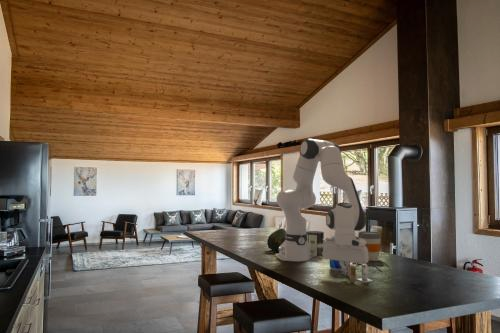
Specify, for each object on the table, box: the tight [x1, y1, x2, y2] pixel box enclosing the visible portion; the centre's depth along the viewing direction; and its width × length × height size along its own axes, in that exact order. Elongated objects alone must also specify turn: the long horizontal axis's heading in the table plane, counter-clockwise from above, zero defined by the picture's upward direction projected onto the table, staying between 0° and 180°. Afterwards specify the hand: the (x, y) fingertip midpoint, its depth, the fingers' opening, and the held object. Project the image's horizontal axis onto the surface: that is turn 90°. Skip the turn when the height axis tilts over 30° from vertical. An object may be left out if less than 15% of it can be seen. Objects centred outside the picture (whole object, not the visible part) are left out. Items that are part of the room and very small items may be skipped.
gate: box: [346, 262, 357, 283], centre depth 169 cm, size 20×3×6 cm, turn 171°
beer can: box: [329, 235, 346, 272], centre depth 188 cm, size 8×8×16 cm
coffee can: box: [306, 230, 325, 259], centre depth 223 cm, size 10×10×14 cm
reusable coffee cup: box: [357, 230, 382, 262], centre depth 214 cm, size 13×13×15 cm
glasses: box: [352, 260, 390, 273], centre depth 193 cm, size 14×16×5 cm
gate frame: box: [340, 263, 374, 284], centre depth 172 cm, size 18×6×7 cm, turn 22°
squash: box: [266, 228, 287, 253], centre depth 239 cm, size 14×15×15 cm
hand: (344, 271), depth 168 cm, fingers closed
